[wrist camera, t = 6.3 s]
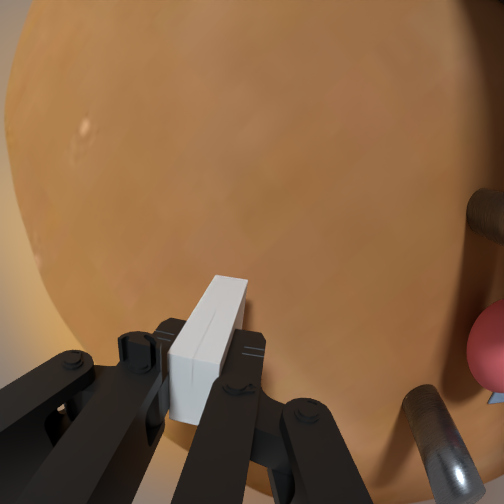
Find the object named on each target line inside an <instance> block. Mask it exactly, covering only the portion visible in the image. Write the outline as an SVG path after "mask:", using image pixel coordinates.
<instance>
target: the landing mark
mask: <svg viewBox="0 0 504 504" xmlns="http://www.w3.org/2000/svg"><path fill="white" fill-rule="evenodd" d="M499 402H504V393H496V392H493V394H492V396H491V398H490V399H489V401H488V403H489V404H491V403H499Z"/></svg>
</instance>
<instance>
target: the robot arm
mask: <svg viewBox="0 0 504 504" xmlns="http://www.w3.org/2000/svg"><path fill="white" fill-rule="evenodd" d="M499 1H500V2H502V3H503V4H504V0H499ZM247 285H248V280H245V279H239V278H232V277H226V276H220V275H215V277H214V278H213V280H212V282H211V283H210V285H209V286H208V288H207V290H206V291H205V293H204V294H203V296H202V298H201V299H200V301H199V302H198V304H197V306H196V307H195V309H194V311H193V312H192V314H191V315H190V317H189V319H188V320H187V321H185V320H180V319H175V318H169V319H167V320H165V321H163V322H161V323H160V325H159V326H158V327H157V329H156V331H154V333H153V334H150V333H147V332H140V331H136V332H129V333H125V334H123V335H121V336H120V337H118V348H119V357H120V362H119V363H118V364H117V365H116V366H100V365H94V362H93V359H92V357H91V356H90V355H89V354H88V353H86V352H84V351H80V350H69V351H64V352H62V353H60V354H58V355H56V356H55V357H53V358H51V359H50V360H48V361H46V362H45V363H43V364H41V365H40V366H38V367H36V368H35V369H33V370H31V371H30V372H28V373H26V374H25V375H23V376H21V377H20V378H18V379H16V380H15V381H13V382H12V383H10V384H8V385H7V386H5V387H4V388H2V389H0V504H132V501H133V499H134V497H135V495H136V492H137V490H138V488H139V485H140V483H141V481H142V479H143V476H144V474H145V472H146V470H147V467H148V465H149V463H150V461H151V459H152V456H153V454H154V452H155V449H156V447H157V445H158V443H159V441H160V438H161V436H162V434H163V432H164V428H165V416H166V413H167V411H168V409H169V419H172V420H176V421H180V422H185V423H189V424H193V425H198V427H197V430H196V433H195V436H194V438H193V441H192V444H191V447H190V450H189V453H188V456H187V458H186V461H185V464H184V467H183V470H182V473H181V476H180V479H179V481H178V484H177V487H176V490H175V492H174V496H173V498H172V501H171V504H242V502H243V496H244V491H245V485H246V478H247V472H248V466H249V460H251V461H253V462H255V463H258V464H260V465H263V466H265V467H267V471H268V475H269V480H270V484H271V489H272V493H273V498H274V502H275V504H373V502H372V499H371V497H370V495H369V493H368V491H367V489H366V486H365V484H364V482H363V480H362V478H361V476H360V474H359V471H358V469H357V467H356V465H355V463H354V461H353V459H352V456H351V454H350V452H349V450H348V448H347V446H346V444H345V441H344V439H343V437H342V435H341V433H340V431H339V429H338V427H337V424H336V422H335V420H334V418H333V416H332V414H331V412H330V410H329V409H328V408H327V406H326V405H324V404H322V403H321V402H319V401H317V400H314V399H311V398H297V399H293V400H291V401H289V402H287V403H286V404H283V403H280V402H278V401H275V400H273V399H271V398H270V397H269V396H267V395H266V394H265V393H264V392H263V390H262V388H261V375H262V368H263V360H264V353H265V346H266V340H265V338H264V336H263V335H262V333H259V332H253V331H246V330H242V324H243V316H244V309H245V301H246V293H247ZM62 404H64V407H65V408H64V409H63V410H61V411H58V410H57V408H58V407H60V406H61V405H62Z"/></svg>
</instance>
